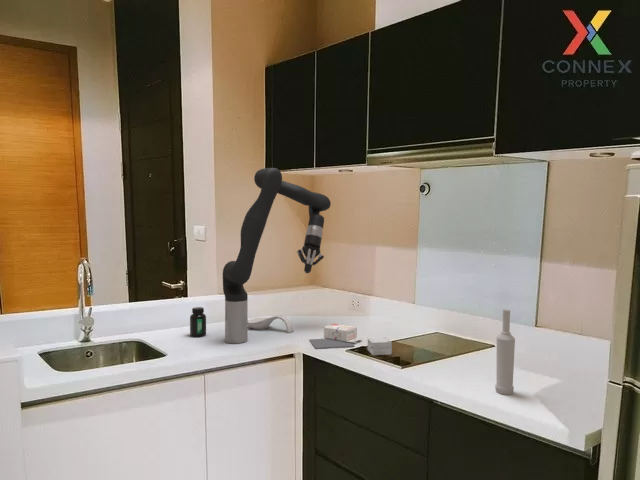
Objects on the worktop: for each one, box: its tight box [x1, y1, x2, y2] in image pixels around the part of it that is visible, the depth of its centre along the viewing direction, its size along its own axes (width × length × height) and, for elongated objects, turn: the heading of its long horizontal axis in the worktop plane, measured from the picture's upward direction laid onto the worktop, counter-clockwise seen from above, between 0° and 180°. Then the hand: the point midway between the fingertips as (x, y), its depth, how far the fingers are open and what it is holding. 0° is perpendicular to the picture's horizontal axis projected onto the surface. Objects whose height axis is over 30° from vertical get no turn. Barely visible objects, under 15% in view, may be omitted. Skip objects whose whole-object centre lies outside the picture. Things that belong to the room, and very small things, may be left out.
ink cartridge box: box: [323, 323, 363, 343], centre depth 206 cm, size 9×5×15 cm
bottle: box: [494, 308, 516, 396], centre depth 146 cm, size 5×5×25 cm
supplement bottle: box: [189, 306, 207, 338], centre depth 212 cm, size 7×7×12 cm
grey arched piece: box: [248, 314, 295, 334], centre depth 224 cm, size 24×12×7 cm, turn 63°
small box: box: [367, 336, 393, 356], centre depth 188 cm, size 8×8×5 cm
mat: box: [308, 338, 356, 350], centre depth 200 cm, size 16×13×1 cm
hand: (307, 272), depth 219 cm, fingers closed
